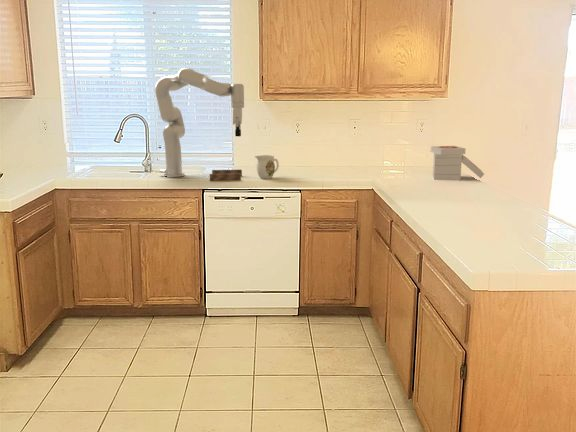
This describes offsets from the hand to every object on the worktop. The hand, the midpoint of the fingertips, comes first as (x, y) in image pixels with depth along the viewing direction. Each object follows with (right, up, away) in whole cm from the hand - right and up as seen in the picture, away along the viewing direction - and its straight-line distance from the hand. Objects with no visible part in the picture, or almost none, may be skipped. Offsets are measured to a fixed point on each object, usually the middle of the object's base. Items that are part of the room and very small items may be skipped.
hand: (238, 136), depth 355 cm
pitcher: (+17, -25, +3) cm, 30 cm away
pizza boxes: (+129, -26, -4) cm, 132 cm away
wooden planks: (-7, -25, +2) cm, 26 cm away
